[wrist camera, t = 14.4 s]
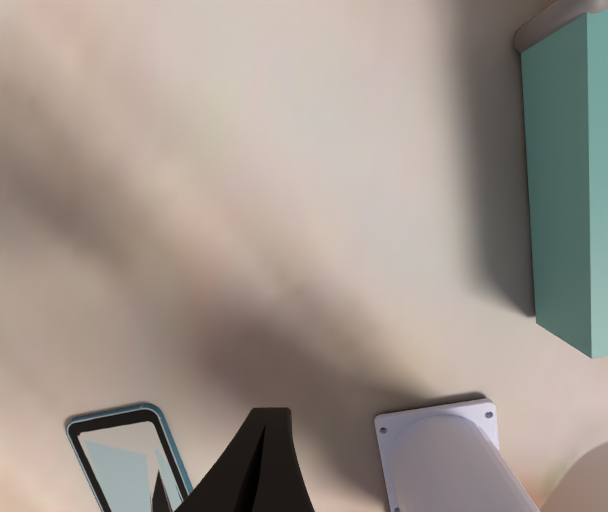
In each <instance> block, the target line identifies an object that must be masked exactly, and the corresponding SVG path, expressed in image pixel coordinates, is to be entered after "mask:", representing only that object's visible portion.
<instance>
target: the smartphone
mask: <svg viewBox="0 0 608 512" xmlns="http://www.w3.org/2000/svg"><path fill="white" fill-rule="evenodd" d="M66 434H67V437H68V439H69V441H70V443H71V445H72V448H73V450H74V452H75V454H76V456H77V459H78V461H79V463H80V465H81V467H82V470H83V472H84V474H85V476H86V478H87V481H88V483H89V485H90V487H91V489H92V492H93V494H94V496H95V498H96V500H97V502H98V505H99V507H100V509H101V511H102V512H174V511H175V510H176V509H177V508H178V506H179V505H180V504H181V503H182V502H183V501H184V500H185V499H186V498H187V497H188V496H189V494H190V493H191V492H192V491H193V487H192V485H191V482H190V480H189V477H188V475H187V472H186V470H185V467H184V465H183V462H182V460H181V457H180V455H179V452H178V450H177V447H176V445H175V442H174V440H173V437H172V435H171V432H170V430H169V427H168V425H167V422H166V420H165V417H164V415H163V413H162V411H161V410H160V409H159V408H158V407H157V406H155V405H152V404H142V405H137V406H132V407H129V408H128V407H127V408H122V409H117V410H114V411H109V412H101V413H97V414H91V415H88V416H87V415H86V416H82V417H77V418H74V419H73V420H72V421H71V422H70V423H69V424H68V425H67V427H66Z"/></svg>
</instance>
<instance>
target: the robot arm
mask: <svg viewBox="0 0 608 512" xmlns="http://www.w3.org/2000/svg"><path fill="white" fill-rule="evenodd" d="M486 412H489V413H487V414H485V413H486ZM374 424H375V429H376V435H377V440H378V446H379V451H380V456H381V462H382V467H383V472H384V478H385V483H386V488H387V494H388V499H389V504H390V510H391V512H540V511H539V509H538V508H537V506H536V505H535V503H534V502H533V500H532V499H531V498H530V496H529V495H528V493H527V492H526V490H525V489H524V487H523V486H522V484H521V483H520V481H519V480H518V479H517V477H516V476H515V474H514V473H513V471H512V470H511V468H510V467H509V465H508V464H507V462H506V461H505V460H504V458H503V457H502V455H501V454H500V452H499V440H498V428H497V416H496V406H495V404H494V403H493V401H492V400H490V399H479V400H472V401H466V402H459V403H453V404H446V405H440V406H433V407H427V408H420V409H414V410H407V411H401V412H394V413H388V414H381V415H378V416H376V417H375V419H374ZM383 427H384V428H385V429H381V428H383ZM174 512H315V511H314V508H313V506H312V503H311V501H310V498H309V495H308V493H307V490H306V487H305V484H304V481H303V477H302V474H301V471H300V468H299V464H298V460H297V456H296V452H295V448H294V444H293V438H292V420H291V410H290V409H289V408H253V409H252V410H251V411H250V413H249V415H248V416H247V418H246V419H245V421H244V423H243V424H242V426H241V427H240V429H239V430H238V432H237V433H236V435H235V436H234V438H233V439H232V441H231V442H230V444H229V445H228V446H227V448H226V449H225V451H224V452H223V453H222V455H221V456H220V458H219V459H218V460H217V461H216V463H215V464H214V465H213V467H212V468H211V469H210V470H209V472H208V473H207V474H206V475H205V477H204V478H203V479H202V480H201V482H200V483H199V484H198V485H197V486H196V488H195V489H194V490H193V491H192V492H191V493H190V494H189V496H188V497H187V498H186V499H185V500H184V501H183V502H182V503H181V504H180V505H179V506H178V508H177V509H176V510H175V511H174Z"/></svg>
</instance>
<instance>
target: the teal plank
mask: <svg viewBox="0 0 608 512" xmlns="http://www.w3.org/2000/svg"><path fill="white" fill-rule="evenodd" d="M514 45H515V48H516V50H517V51H518V52H520V53H521V64H522V82H523V100H524V117H525V135H526V152H527V170H528V187H529V205H530V223H531V240H532V258H533V275H534V293H535V311H536V323H537V324H538V325H540V326H541V327H543V328H545V329H546V330H548V331H549V332H551V333H552V334H554V335H556V336H557V337H559V338H560V339H562V340H563V341H565V342H567V343H568V344H570V345H571V346H573V347H574V348H576V349H577V350H579V351H581V352H582V353H584V354H585V355H587V356H588V357H590V358H592V359H593V358H599V357H605V356H608V0H556V1H555V2H554V3H552V4H551V5H550V6H548V7H547V8H546V9H544V10H543V11H542V12H540V13H539V14H538V15H536V16H535V17H534V18H532V19H531V20H530V21H528V22H527V23H526V24H524V25H523V26H522V27H520V28H519V30H518V31H517V32H516V34H515V38H514Z"/></svg>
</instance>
